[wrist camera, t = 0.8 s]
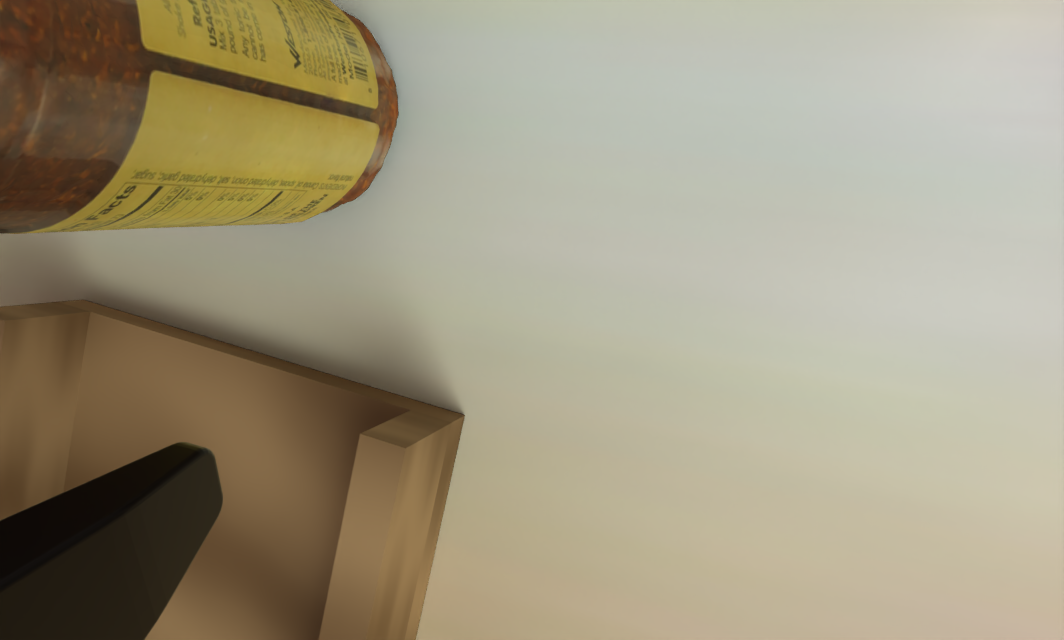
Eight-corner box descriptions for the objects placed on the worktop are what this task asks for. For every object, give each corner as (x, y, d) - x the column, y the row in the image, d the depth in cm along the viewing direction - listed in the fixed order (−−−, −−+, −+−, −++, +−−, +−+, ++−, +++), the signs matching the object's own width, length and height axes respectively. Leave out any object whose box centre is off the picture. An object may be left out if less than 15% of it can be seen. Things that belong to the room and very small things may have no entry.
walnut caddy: (374, 826, 26) (304, 926, 22) (27, 674, 29) (-86, 740, 26) (464, 414, 24) (405, 448, 20) (82, 299, 27) (-31, 309, 24)
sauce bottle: (225, -9, 25) (-1502, -777, 6) (426, 12, 24) (-1058, -936, 5) (201, 218, 26) (-1372, 164, 7) (393, 253, 24) (-963, 305, 5)
